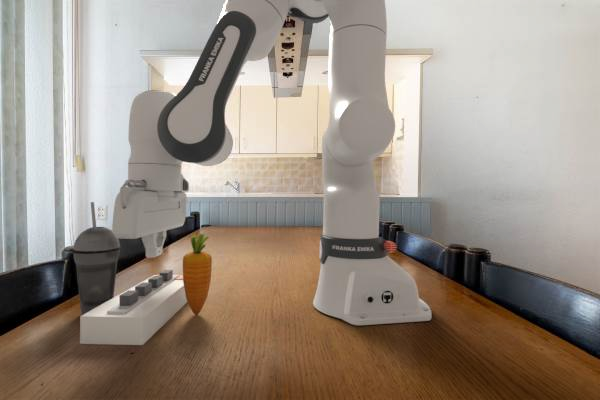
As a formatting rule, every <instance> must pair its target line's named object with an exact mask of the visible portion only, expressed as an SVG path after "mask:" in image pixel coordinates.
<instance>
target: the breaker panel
mask: <svg viewBox="0 0 600 400" xmlns="http://www.w3.org/2000/svg"><path fill="white" fill-rule="evenodd" d="M173 273H174V272H173V269H164V270H162V271H160V272H159V274H154V275H151V276H150V277H148V278H146V279H145V280H142V281H140V282H139V283H137V284H136V285H134V286H132V287H130V288H129V289H127V290H124V291H123V292H121V293H119V294H118V295H115V296H114V297H113V298H112V299H110V300H109V301H107V302H105V303H103V304H101V305H100V306H98V307H96V308H94V309H92V310H91V311H89V312H87V313H85V314H84V315H82V314H81V315H80V317H79V319H80V321H79V324H80V327H79V329H80V330H79V344H80V345H85V344H86V345H113V346H114V345H116V346H118V345H119V346H120V345H121V346H122V345H123V346H127V345H128V346H143V345H145V344H146V342H148V341H149V340H150V339H151V338H152V337H153V336H154V335H155V334H156V333H157V332H158V331H159V330H160V329H161V328H162V327H163V326H165V324H166V323H167V322H169V320H170V319H171V318H173V317H174V315H175V314H177V312H179V311H180V310H181V309H182V308H183V307H184V306H185V305H186V304H187V303H188V301H187V299H186V294H185V289H184V283H183V274H173Z"/></svg>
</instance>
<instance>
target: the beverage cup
mask: <svg viewBox="0 0 600 400" xmlns="http://www.w3.org/2000/svg"><path fill="white" fill-rule="evenodd" d="M90 209H91V210H90V211H91V222H92V223H91V225H92V226H91V227H89V228H86V229H85V230H83V231H82V232H81V233H80V234H79V235H77V237H76V239H75V241H74V243H73V248H72V252H71V253H73V260H74V264H75V268H76V269H75V270H76V277H77V278H76V279H77V286H78V297H79V307H80V312H81V316H82V315H84V314H85V313H87V312H89V311H91V310H92V309H94V308H96V307H98V306H100V305H101V304H103V303H105V302H107V301H109V300H110V299H112V298H114V297H115V287H116V286H115V285H116V276H117V269H118V260H119V257H120V253H121V251H120V250H121V248H122V247H121V244H120V243H121V242H120V238H116V237H115V236H114V234H113V231H112V229H110V228H108V227H105V226H97V220H96V211H95V210H96V209H95V202H94V201H91V202H90Z"/></svg>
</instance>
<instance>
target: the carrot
mask: <svg viewBox="0 0 600 400" xmlns="http://www.w3.org/2000/svg"><path fill="white" fill-rule="evenodd" d="M205 235H206V234H205V233H203V232H200V233H199V235H198V237H197V236H196V234H195V233H192V234H191V235H190V236H191V237H190V242H191V243H190V244H191V246H192V250H193V251H190V252H187V253H186V254H185V255H184V256H183V258H182V275H183V283H184V289H185V294H186V299H187V301H188V302H187V303H188V306H189V308H190V310H191V312H192V313H193V314H194V315H195V316H198V315H199V314H201V311H202V310H203V307H204V306H205V303H206V300H207V298H208V293H209V291H210V290H209V289H210V285H211V281H212V280H211V279H212V268H213V267H212V263H213V262H212V261H213V260H212V259H213V257H212V255H211V254H210V253H209V252H206V251H203V249H204V248H205V247H206V246H207V244H205V242H206V241H208V240H209V238H210V237H209V236H205Z"/></svg>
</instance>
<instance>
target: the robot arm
mask: <svg viewBox="0 0 600 400" xmlns="http://www.w3.org/2000/svg"><path fill="white" fill-rule="evenodd" d="M288 16H290V17H291V18H296V19H298V20H300V21H302V22H304V23H309V24H319V23H322V22H324V21H325V20H326V19H329V24H330V30H329V31H330V32H329V48H328V65H327V66H328V69H327V83H328V91H329V92H328V97H329V118H328V119H329V120H328V124H327V128H326V129H325V130H324V132H323V135H322V137H321V170H322V172H321V173H322V188H323V189H322V190H323V210H322V212H323V214H322V234H320V240H319V262H320V271H319V276H318V282H317V288H316V291H315V295H314V298H313V302H312V305H313V307H314V308H315V309H316V310H317V311H318V312H320V313H323V314H324V315H328V316H331V317H334V318H336V319H341V320H342V321H344V322H346V323H348V324H350V325H353V326H369V325H385V324H387V325H388V324H399V323H415V322H427V321H428V322H429V321H431V320H432V319H433V318H432V317H433V316H432V310H431V308H430V306H429V304H427V303H426V302H425V301H424V300H422V299H421V298H419V297H420V296H419V291H418V290H419V289H418V286H417V283H416V281H415V279H414V278H413V276H412V275H411V274H409V273H408V272H407V270H405V269H404V268H403V267H401V266H400V265H399V264H398V263H397V262H396V261H394V260H393V259H392V258H391V257H390V256H389V255H388V254H389V253H395V252H396V251H397V248H398V246H397V244H396V243H395V242H393V241H392V240H386V239H384V238H383V237H381V236H379V235H380V206H381V205H380V204H381V203H380V201H381V200H380V194H379V192H378V188H377V183H376V177H375V172H374V171H375V169H374V160H376V159H377V158H379V157H380V156H381V155H383V154H384V152H385V151H387V148H388V147H389V146H390V144H391V142H392V140H393V138H394V136H395V133H396V121H395V117H394V114H393V113H392V111H391V109H390V107H389V101H388V95H387V93H388V92H387V87H386V57H387V56H386V54H387V52H386V51H387V36H388V35H387V32H388V31H387V30H388V29H387V28H388V27H387V26H388V25H387V21H388V20H387V8H386V1H385V0H225V3H224V4H223V8H222V11H221V13H220V16H219V19H218V21H217V23H216V25H215V26H214V28H213V30H212V32H211V33H210V35H209V38H208V39H207V41H206V43H205V45H204V48H203V49H202V52H201V54H200V56H199V58H198V60H197V62H196V64H195V66H194V68H193V70H192V72H191V74H190V76H189V79H187V81H186V83H185V85H183V87H182V89H181V90H180V91H179V92H178V93H177V94H176V93H173V92H171V91H168V90H167V91H166V90H161V89H153V90H146V91H142V92H141V93H138V94H137V95H136V96H135V97H134V99H133V100H132V103H131V106H130V113H129V122H128V143H129V145H130V156H129V159H128V163H127V165H128V166H127V179H126V180H125V181H124V183H123V184H122V186H120V188H119V192H118V193H117V195H116V197H115V201H114V207H113V213H112V214H113V215H112V223H111V225H112V226H111V228H112V229H111V230H112V231H113V234H114V236H115V237H116V238H118V239H123V240H125V239H127V240H130V239H135V240H137V239H138V238H141V240H142V243H143V246H144V248H145V257H146V258H148V259H150V258H151V259H153V258H156V257H158V256H161V255H162V254H163V253H164V250H163V249H164V244H165V241H166V238H167V231H169V230H173V229H176V228H180V227H183V226H184V224H185V222H186V215H187V202H188V201H187V199H188V198H187V194H186V193H188V192H189V190H190V183H189V181H188V180H187V179H186V178H185V176H184V175H183V173H182V164H183V162H184V163H189V164H195V165H199V166H203V167H213V166H217V165H219V164H221V163H224V161H225V160H226V159H228V157H230V154H231V153H232V151H233V146H234V145H233V144H234V139H233V136H232V133H231V131H230V129H229V128H228V125H227V124H226V117H225V116H226V115H225V113H226V106H227V103H228V101H229V98H230V97H231V94H232V92H233V89H234V87H235V85H236V83H237V81H238V79H239V76H240V74H241V72H242V69H244V67H245V64H246V63H247V62H248V61H249V62H256V61H261V60H263V59H265V58H267V57H268V55H269V54H270V52H271V51H272V49H273V48H274V46H275V44H276V43H277V41H278V38H279V36H280V34H281V32H282V30H283V26H284V24H285V21H286V19H287V17H288ZM328 17H329V18H328Z"/></svg>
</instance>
